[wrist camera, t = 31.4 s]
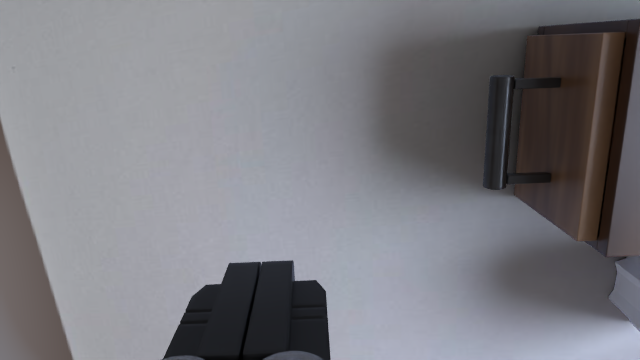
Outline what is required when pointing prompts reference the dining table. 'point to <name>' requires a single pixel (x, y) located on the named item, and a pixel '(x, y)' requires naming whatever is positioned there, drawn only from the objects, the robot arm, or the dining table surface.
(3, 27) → the dining table surface
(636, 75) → the cabinet
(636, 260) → the cup
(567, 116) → the drawer
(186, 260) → the dining table surface
